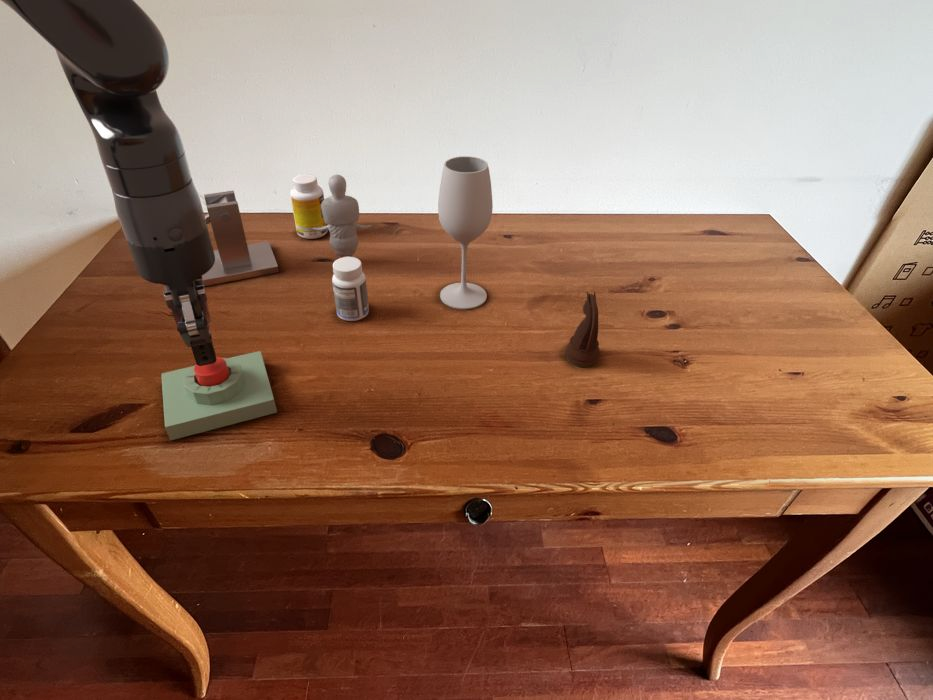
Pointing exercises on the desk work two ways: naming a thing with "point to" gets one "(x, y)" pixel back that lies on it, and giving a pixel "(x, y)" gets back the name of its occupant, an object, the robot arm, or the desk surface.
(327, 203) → the figurine
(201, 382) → the red button
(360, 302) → the pill bottle
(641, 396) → the desk surface
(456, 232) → the wineglass
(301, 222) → the supplement bottle
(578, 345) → the chess piece
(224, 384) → the button block
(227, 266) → the lever stand
